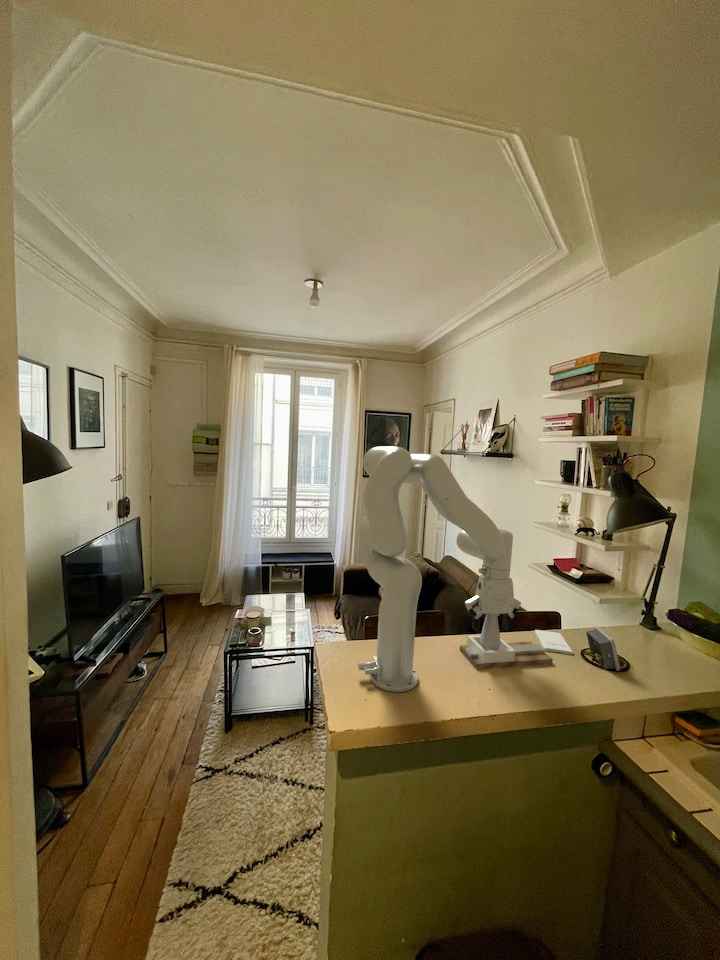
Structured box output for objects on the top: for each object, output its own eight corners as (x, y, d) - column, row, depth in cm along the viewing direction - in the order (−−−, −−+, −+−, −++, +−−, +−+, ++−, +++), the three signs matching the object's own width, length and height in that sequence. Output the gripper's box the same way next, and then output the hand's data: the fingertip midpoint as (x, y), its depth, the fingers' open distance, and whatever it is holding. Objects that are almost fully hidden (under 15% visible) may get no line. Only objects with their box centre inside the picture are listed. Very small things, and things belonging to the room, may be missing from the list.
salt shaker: (501, 647, 110) (504, 605, 109) (499, 657, 105) (502, 612, 104) (480, 643, 112) (483, 601, 111) (478, 651, 107) (481, 607, 106)
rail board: (476, 669, 102) (476, 664, 102) (459, 650, 112) (459, 645, 112) (552, 663, 107) (552, 658, 107) (529, 646, 117) (530, 641, 117)
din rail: (470, 657, 106) (471, 654, 105) (464, 651, 109) (465, 647, 109) (544, 652, 110) (545, 649, 110) (537, 646, 114) (537, 643, 114)
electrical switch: (621, 672, 105) (620, 640, 104) (601, 672, 105) (601, 640, 105) (602, 654, 114) (602, 625, 114) (584, 654, 115) (584, 625, 114)
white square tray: (483, 663, 103) (484, 652, 103) (466, 645, 112) (467, 635, 112) (514, 661, 105) (515, 650, 105) (495, 643, 114) (496, 634, 114)
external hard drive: (560, 637, 125) (573, 656, 113) (534, 634, 127) (544, 652, 115) (560, 633, 125) (573, 651, 113) (534, 629, 127) (544, 647, 115)
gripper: (474, 576, 102) (470, 637, 103) (530, 576, 105) (525, 635, 106) (462, 568, 109) (457, 625, 110) (514, 568, 112) (510, 623, 113)
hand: (491, 630), depth 108 cm, fingers open, 9 cm apart
